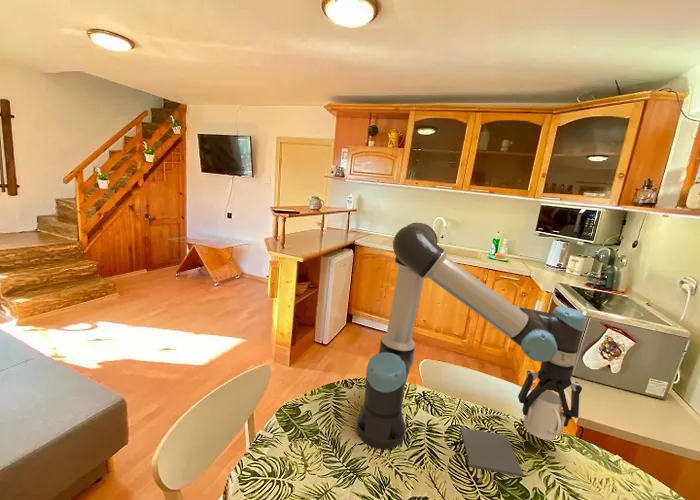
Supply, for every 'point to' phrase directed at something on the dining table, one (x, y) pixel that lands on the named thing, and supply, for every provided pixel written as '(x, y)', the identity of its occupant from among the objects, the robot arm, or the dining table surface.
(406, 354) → the robot arm
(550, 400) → the mug
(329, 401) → the dining table surface
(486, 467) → the coaster
